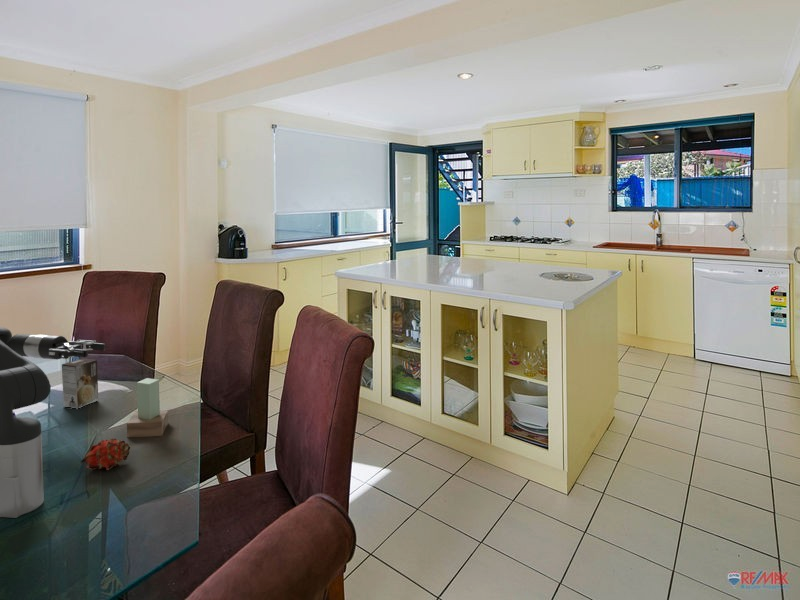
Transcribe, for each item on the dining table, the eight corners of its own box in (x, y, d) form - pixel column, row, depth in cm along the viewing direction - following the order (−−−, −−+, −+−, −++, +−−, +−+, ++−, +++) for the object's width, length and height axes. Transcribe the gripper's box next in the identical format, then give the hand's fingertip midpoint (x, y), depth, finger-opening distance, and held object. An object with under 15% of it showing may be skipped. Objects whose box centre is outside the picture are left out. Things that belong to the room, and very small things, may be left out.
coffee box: (84, 399, 178) (83, 357, 176) (98, 401, 177) (98, 359, 175) (62, 407, 169) (61, 363, 167) (77, 410, 168) (76, 366, 166)
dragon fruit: (134, 466, 136) (86, 485, 128) (125, 442, 139) (77, 458, 132) (135, 451, 131) (85, 470, 123) (125, 426, 134) (75, 443, 126)
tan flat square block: (161, 436, 153) (161, 421, 152) (127, 438, 150) (126, 423, 149) (168, 424, 162) (168, 410, 162) (135, 425, 160) (135, 411, 159)
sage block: (150, 419, 153) (148, 384, 151) (138, 417, 154) (136, 382, 152) (159, 414, 157) (158, 379, 155) (148, 412, 158) (147, 378, 156)
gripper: (27, 340, 144) (80, 343, 144) (61, 330, 158) (110, 334, 158) (28, 364, 145) (81, 367, 145) (62, 352, 159) (110, 356, 159)
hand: (96, 350), depth 152 cm, fingers open, 8 cm apart
